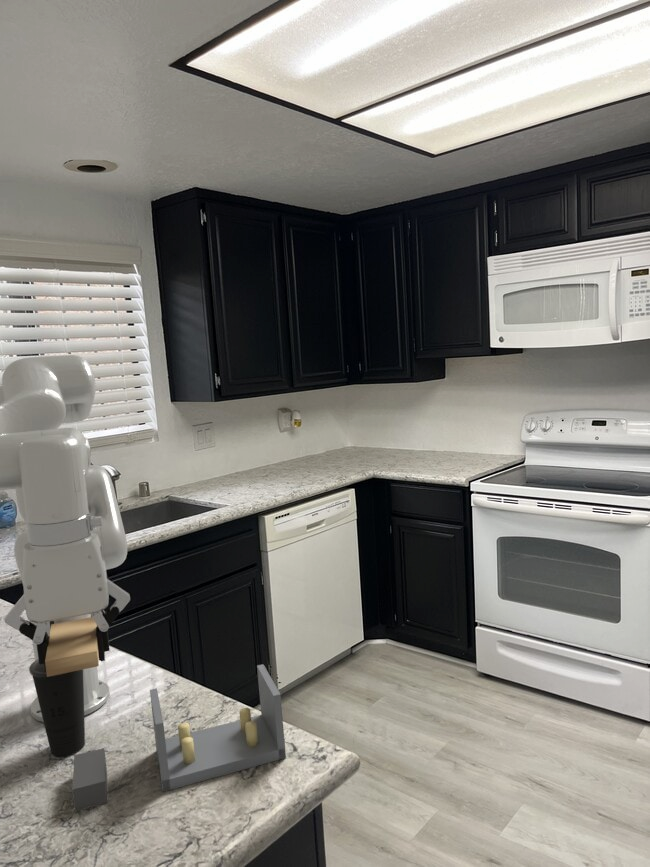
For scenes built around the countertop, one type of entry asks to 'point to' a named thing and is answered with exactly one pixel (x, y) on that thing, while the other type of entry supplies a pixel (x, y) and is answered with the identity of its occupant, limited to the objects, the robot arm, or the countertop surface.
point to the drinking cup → (61, 708)
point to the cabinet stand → (221, 741)
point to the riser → (89, 779)
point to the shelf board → (72, 647)
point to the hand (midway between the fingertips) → (75, 661)
